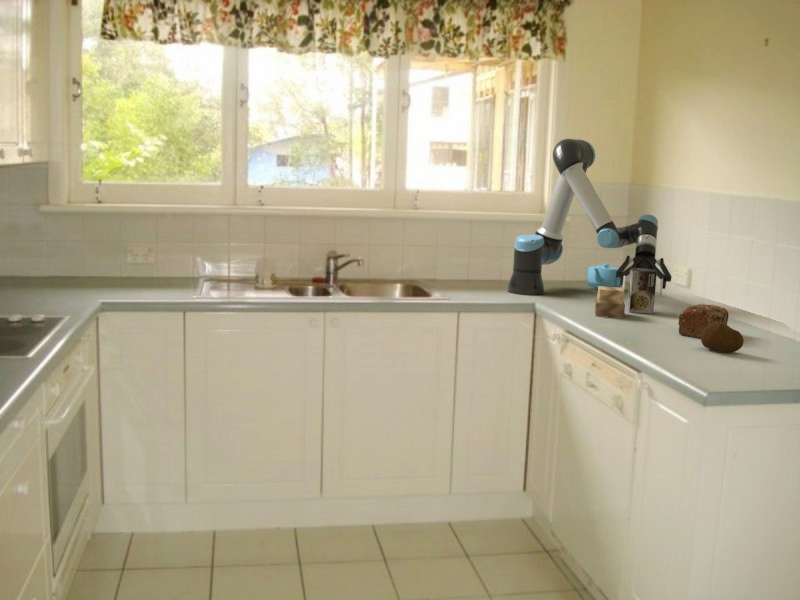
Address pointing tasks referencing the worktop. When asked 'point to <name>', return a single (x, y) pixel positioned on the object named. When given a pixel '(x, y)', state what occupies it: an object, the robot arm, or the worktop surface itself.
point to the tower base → (609, 309)
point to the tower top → (610, 295)
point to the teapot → (603, 276)
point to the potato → (721, 338)
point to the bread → (700, 319)
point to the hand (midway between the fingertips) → (641, 293)
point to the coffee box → (641, 290)
